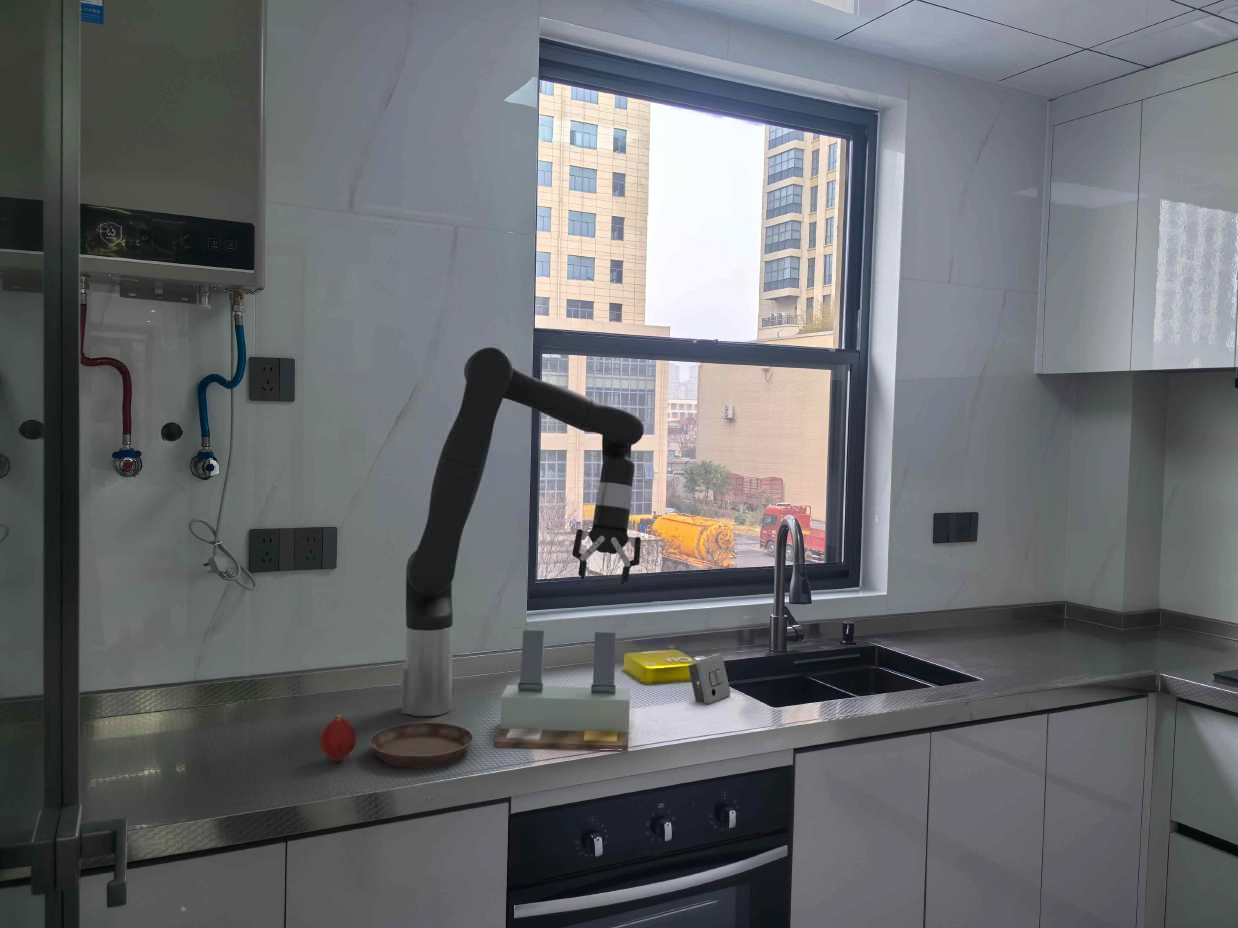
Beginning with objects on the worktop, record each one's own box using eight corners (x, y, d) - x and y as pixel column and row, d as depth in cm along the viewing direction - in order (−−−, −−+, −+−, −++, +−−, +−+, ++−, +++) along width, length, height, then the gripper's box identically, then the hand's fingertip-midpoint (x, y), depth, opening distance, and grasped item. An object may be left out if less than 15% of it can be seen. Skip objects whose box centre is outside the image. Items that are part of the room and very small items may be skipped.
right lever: (591, 692, 162) (593, 631, 166) (591, 692, 164) (593, 633, 168) (615, 693, 162) (616, 632, 166) (615, 693, 164) (617, 633, 168)
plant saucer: (462, 733, 161) (462, 717, 161) (482, 766, 144) (482, 748, 144) (365, 743, 155) (365, 726, 154) (374, 779, 138) (374, 760, 138)
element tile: (676, 666, 215) (677, 647, 215) (703, 681, 201) (703, 661, 201) (621, 670, 210) (621, 650, 209) (644, 686, 195) (644, 665, 195)
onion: (325, 755, 148) (325, 709, 147) (359, 754, 148) (359, 708, 148) (316, 767, 142) (316, 719, 142) (351, 767, 142) (352, 719, 142)
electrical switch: (708, 705, 181) (705, 661, 181) (687, 703, 184) (685, 659, 184) (731, 696, 188) (728, 653, 188) (711, 693, 191) (709, 652, 192)
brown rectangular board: (493, 746, 153) (494, 738, 153) (508, 718, 169) (508, 711, 169) (627, 750, 152) (627, 742, 152) (629, 722, 168) (629, 715, 168)
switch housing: (500, 728, 160) (501, 696, 160) (507, 715, 168) (507, 684, 168) (628, 732, 159) (629, 700, 159) (629, 718, 167) (629, 688, 167)
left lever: (517, 690, 163) (521, 630, 167) (518, 690, 164) (522, 631, 168) (541, 691, 163) (545, 630, 166) (542, 691, 164) (546, 631, 168)
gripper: (578, 500, 179) (567, 577, 177) (645, 508, 178) (635, 586, 176) (581, 503, 186) (571, 577, 184) (646, 511, 185) (636, 586, 183)
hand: (602, 581), depth 180 cm, fingers open, 8 cm apart
